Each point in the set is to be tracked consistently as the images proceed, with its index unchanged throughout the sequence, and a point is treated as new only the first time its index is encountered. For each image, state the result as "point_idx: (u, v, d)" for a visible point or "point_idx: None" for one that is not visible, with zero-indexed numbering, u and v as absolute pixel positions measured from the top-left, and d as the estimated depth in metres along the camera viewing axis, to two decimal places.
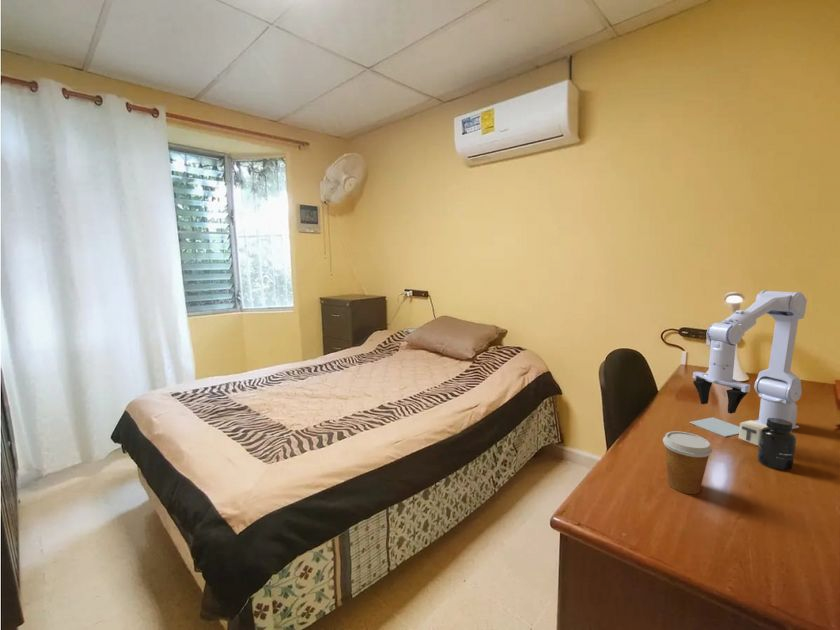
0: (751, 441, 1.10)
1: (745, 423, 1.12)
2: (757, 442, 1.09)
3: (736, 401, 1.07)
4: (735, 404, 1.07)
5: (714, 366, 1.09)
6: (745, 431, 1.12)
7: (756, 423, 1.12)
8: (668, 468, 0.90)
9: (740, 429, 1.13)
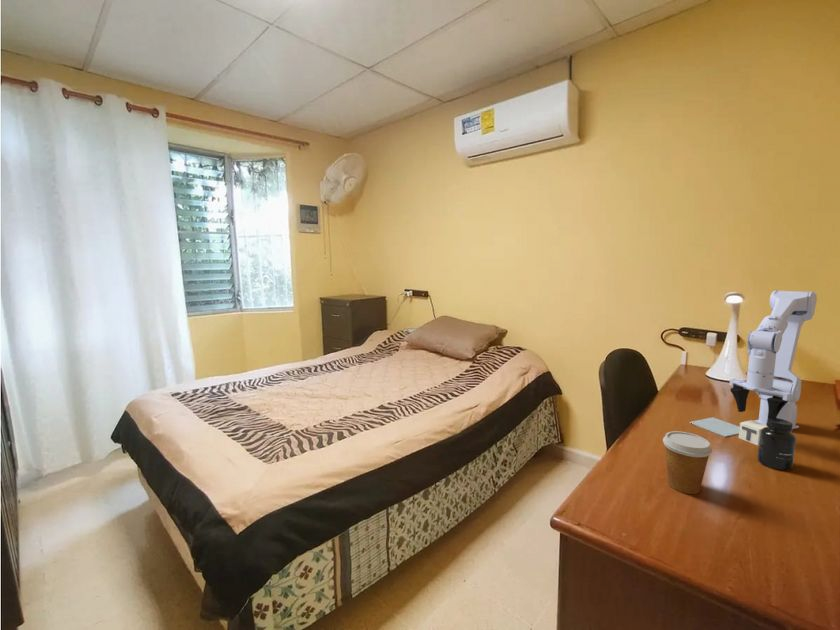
0: (751, 441, 1.10)
1: (745, 423, 1.12)
2: (757, 442, 1.09)
3: (776, 409, 1.07)
4: (775, 412, 1.07)
5: (754, 374, 1.08)
6: (745, 431, 1.12)
7: (756, 423, 1.12)
8: (668, 468, 0.90)
9: (740, 429, 1.13)
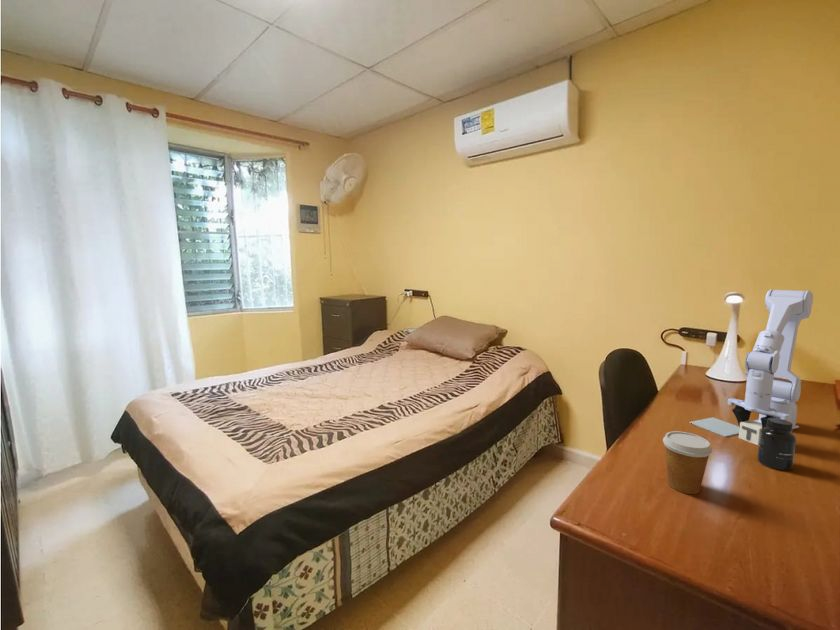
0: (751, 441, 1.10)
1: (745, 423, 1.12)
2: (757, 442, 1.09)
3: None
4: None
5: (752, 394, 1.09)
6: (745, 431, 1.12)
7: (756, 423, 1.12)
8: (668, 468, 0.90)
9: (740, 429, 1.13)
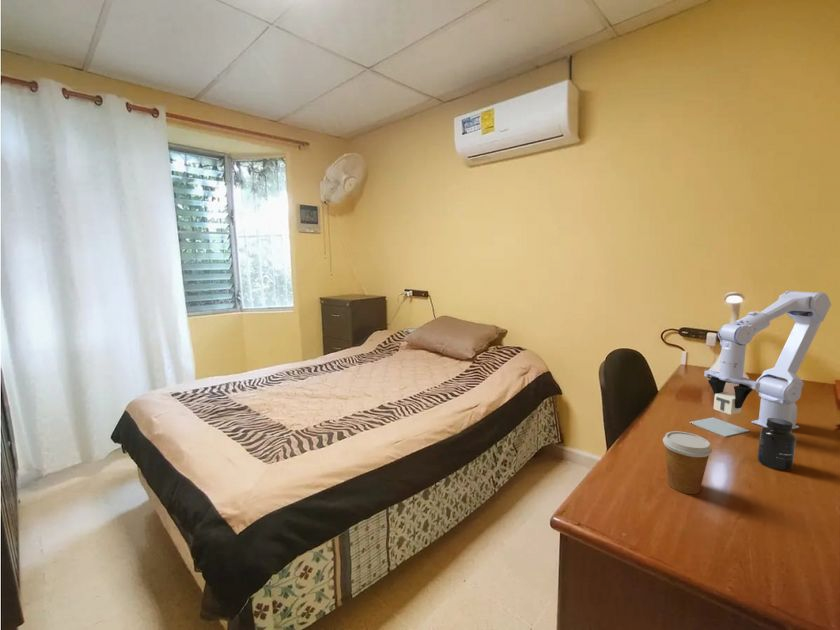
0: (725, 411, 1.16)
1: (719, 394, 1.18)
2: (730, 411, 1.15)
3: (742, 397, 1.15)
4: (741, 399, 1.15)
5: (725, 365, 1.15)
6: (719, 402, 1.18)
7: (730, 394, 1.18)
8: (668, 468, 0.90)
9: (715, 400, 1.19)
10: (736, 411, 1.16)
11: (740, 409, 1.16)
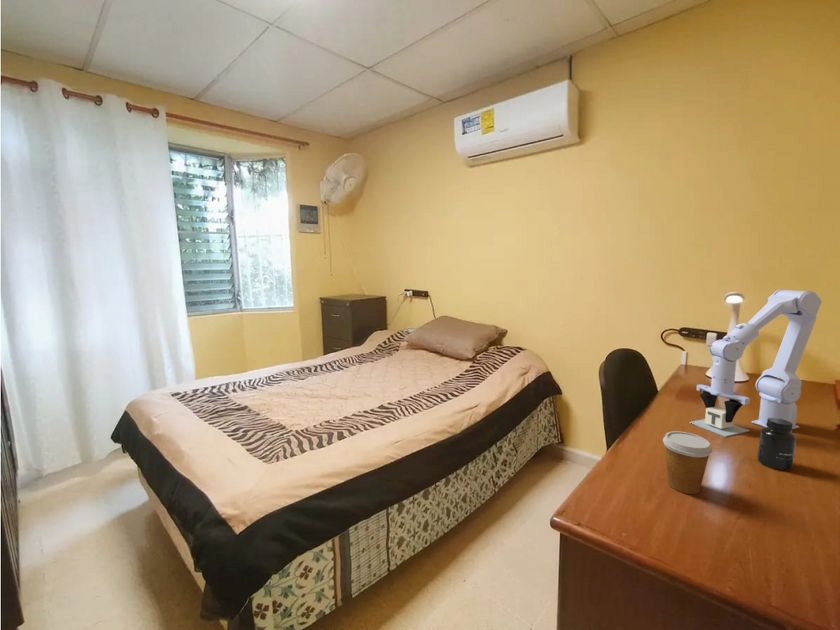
0: (715, 425, 1.19)
1: (710, 408, 1.21)
2: (721, 426, 1.18)
3: (733, 411, 1.17)
4: (732, 414, 1.17)
5: (716, 380, 1.18)
6: (710, 416, 1.21)
7: (721, 408, 1.21)
8: (668, 468, 0.90)
9: (706, 414, 1.22)
10: (727, 425, 1.19)
11: (731, 423, 1.19)
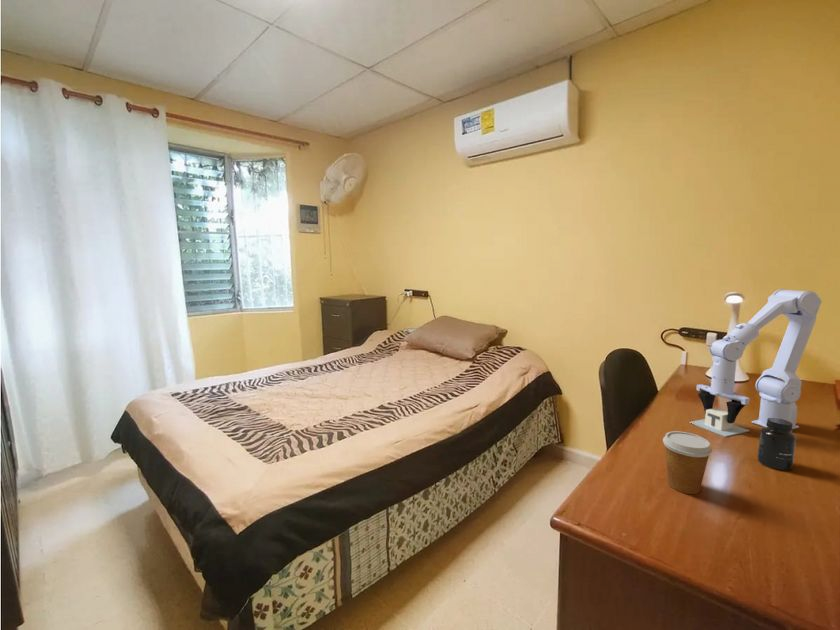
0: (715, 426, 1.19)
1: (710, 410, 1.21)
2: (720, 427, 1.18)
3: (735, 412, 1.17)
4: (734, 415, 1.17)
5: (716, 380, 1.18)
6: (710, 418, 1.21)
7: (721, 410, 1.21)
8: (668, 468, 0.90)
9: (706, 416, 1.22)
10: (727, 427, 1.19)
11: (730, 425, 1.19)
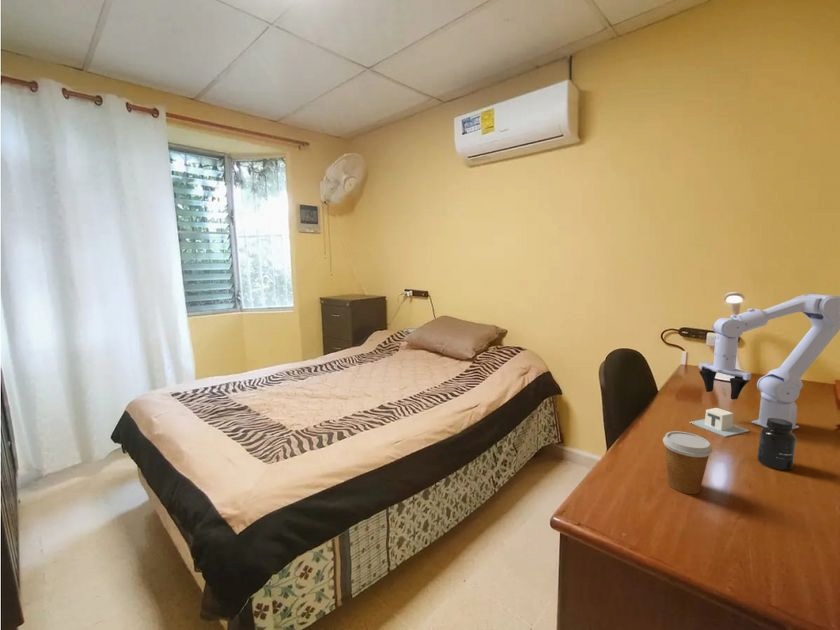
0: (715, 426, 1.19)
1: (710, 410, 1.21)
2: (720, 427, 1.18)
3: (738, 388, 1.19)
4: (737, 391, 1.19)
5: (718, 357, 1.21)
6: (710, 418, 1.21)
7: (721, 410, 1.21)
8: (668, 468, 0.90)
9: (706, 416, 1.22)
10: (727, 427, 1.19)
11: (730, 425, 1.19)
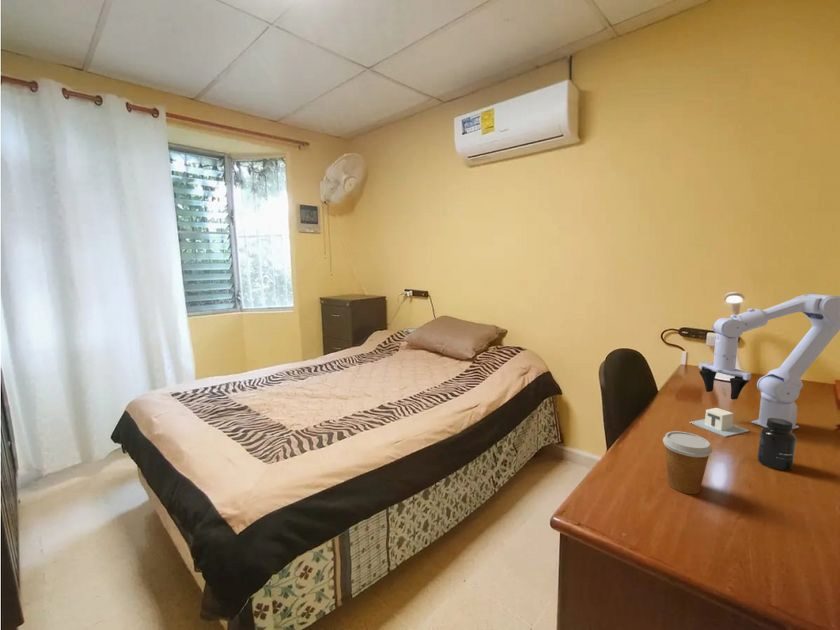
0: (715, 426, 1.19)
1: (710, 410, 1.21)
2: (720, 427, 1.18)
3: (738, 388, 1.19)
4: (737, 391, 1.19)
5: (718, 357, 1.21)
6: (710, 418, 1.21)
7: (721, 410, 1.21)
8: (668, 468, 0.90)
9: (706, 416, 1.22)
10: (727, 427, 1.19)
11: (730, 425, 1.19)
